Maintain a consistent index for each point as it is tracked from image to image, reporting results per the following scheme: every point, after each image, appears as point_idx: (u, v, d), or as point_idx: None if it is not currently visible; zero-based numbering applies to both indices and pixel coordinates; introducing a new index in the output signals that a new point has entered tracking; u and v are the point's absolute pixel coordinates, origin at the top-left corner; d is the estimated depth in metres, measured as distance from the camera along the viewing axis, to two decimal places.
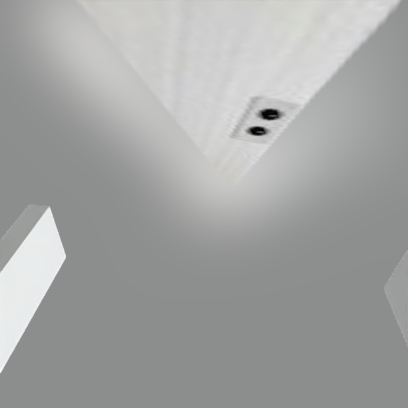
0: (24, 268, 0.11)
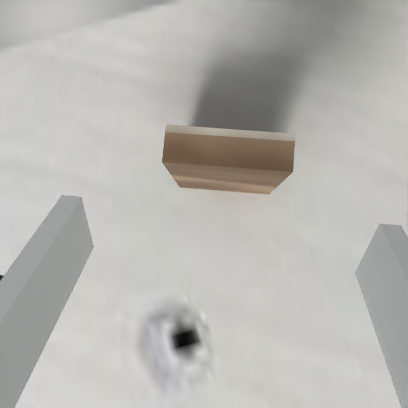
0: (61, 255, 0.11)
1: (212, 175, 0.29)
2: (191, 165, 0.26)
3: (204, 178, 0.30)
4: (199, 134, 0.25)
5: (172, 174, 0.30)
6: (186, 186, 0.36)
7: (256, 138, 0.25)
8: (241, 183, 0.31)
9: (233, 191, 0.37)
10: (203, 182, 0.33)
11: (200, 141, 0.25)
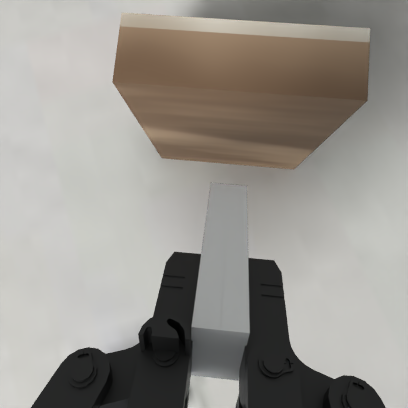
0: None
1: (209, 123, 0.17)
2: (169, 91, 0.13)
3: (196, 133, 0.18)
4: (185, 32, 0.13)
5: (142, 124, 0.18)
6: (171, 155, 0.24)
7: (295, 37, 0.13)
8: (257, 143, 0.19)
9: (241, 164, 0.25)
10: (195, 144, 0.21)
11: (186, 43, 0.13)
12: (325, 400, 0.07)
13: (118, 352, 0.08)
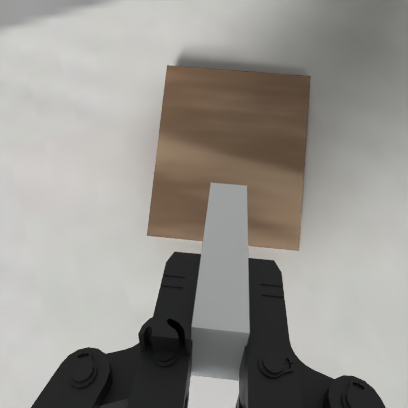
0: None
1: (216, 121, 0.22)
2: (198, 74, 0.23)
3: (202, 144, 0.22)
4: None
5: (161, 129, 0.22)
6: (161, 221, 0.22)
7: None
8: (253, 164, 0.22)
9: None
10: (196, 175, 0.22)
11: None
12: (325, 400, 0.07)
13: (118, 352, 0.08)
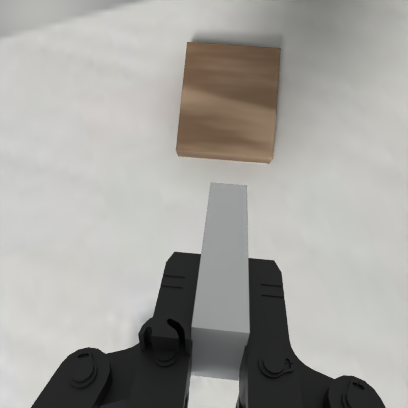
0: None
1: (219, 77, 0.35)
2: (207, 47, 0.35)
3: (211, 92, 0.34)
4: None
5: (184, 83, 0.35)
6: (185, 141, 0.34)
7: None
8: (243, 104, 0.34)
9: (234, 153, 0.34)
10: (207, 112, 0.34)
11: None
12: (325, 400, 0.07)
13: (118, 352, 0.08)
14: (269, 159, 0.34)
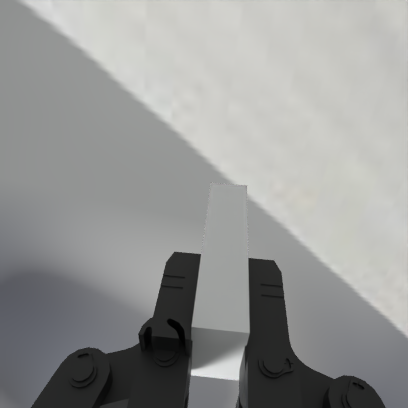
0: None
1: None
2: None
3: None
4: None
5: None
6: None
7: None
8: None
9: None
10: None
11: None
12: (325, 400, 0.07)
13: (118, 352, 0.08)
14: None
